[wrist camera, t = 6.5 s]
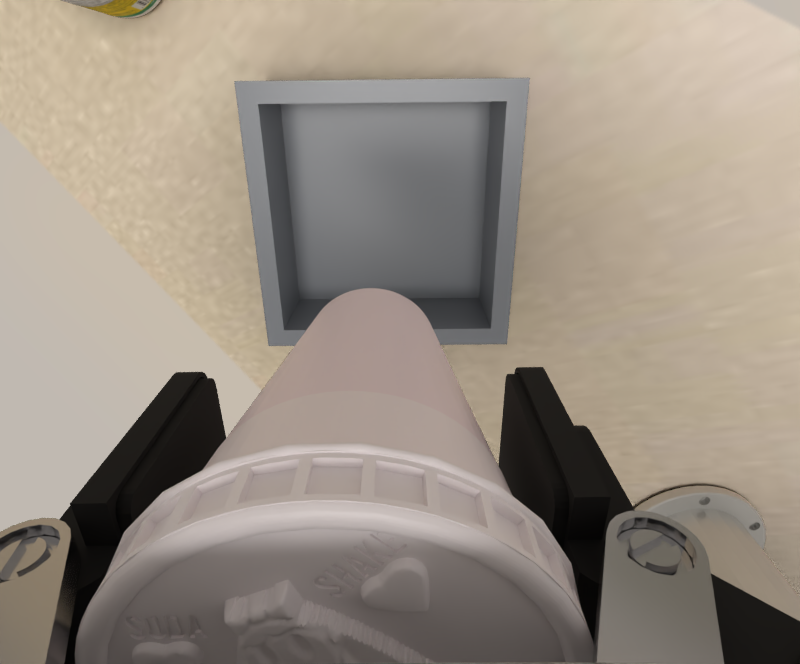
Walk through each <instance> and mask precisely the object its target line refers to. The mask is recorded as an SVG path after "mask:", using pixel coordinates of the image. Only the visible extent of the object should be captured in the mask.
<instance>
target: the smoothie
mask: <svg viewBox="0 0 800 664" xmlns="http://www.w3.org/2000/svg"><path fill="white" fill-rule="evenodd" d="M593 649H594V643H593V640H592V637H591V634H590V631H589V629H588V626H587V623H586V620H585V618H584V615H583V612H582V609H581V605H580V601H579V596H578V592H577V587H576V583H575V578H574V574H573V569H572V564H571V562H570V561H569V559H568V558H567V556H566V555H565V553H564V551H563V550H562V548H561V547H560V545H559V544H558V542H557V541H556V539H555V538H554V536H553V535H552V533H551V532H550V530H549V529H548V527H547V526H546V524H545V523H544V521H543V520H542V519H541V518H540V517H538V516H537V515H536V514H535V513H533V512H532V511H531V510H530V509H528V508H527V507H526V506H525V505H523V504H522V503H521V502H520V501H518V500H517V499H516V498H515V497H513V496H512V494H511V491H510V489H509V487H508V485H507V482H506V480H505V478H504V476H503V474H502V472H501V470H500V468H499V466H498V464H497V462H496V461H495V459H494V457H493V454H492V452H491V450H490V448H489V446H488V444H487V442H486V440H485V438H484V435H483V433H482V431H481V429H480V427H479V425H478V423H477V421H476V419H475V417H474V414H473V412H472V410H471V408H470V406H469V404H468V402H467V400H466V398H465V395H464V393H463V391H462V389H461V387H460V385H459V383H458V381H457V379H456V377H455V374H454V372H453V370H452V368H451V366H450V364H449V362H448V360H447V358H446V355H445V353H444V351H443V349H442V347H441V345H440V343H439V341H438V339H437V337H436V334H435V332H434V330H433V328H432V326H431V324H430V322H429V320H428V318H427V317H426V315H425V314H424V313H423V311H422V310H421V309H420V308H419V307H418V306H417V305H416V304H415V303H413V302H412V301H411V300H409V299H408V298H406V297H404V296H402V295H400V294H398V293H395V292H393V291H389V290H385V289H378V288H363V289H357V290H353V291H349V292H347V293H344V294H342V295H340V296H338V297H336V298H335V299H333V300H332V301H330V302H329V303H328V304H327V305H326V306H325V307H324V308H323V309H322V310H321V311H320V312H319V314H318V315H317V317H316V318H315V319H314V321H313V322H312V323H311V325H310V326H309V327H308V329H307V330H306V331H305V333H304V334H303V335H302V337H301V338H300V339H299V341H298V342H297V344H296V345H295V346H294V348H293V349H292V350H291V352H290V353H289V354H288V356H287V357H286V358H285V360H284V361H283V362H282V364H281V365H280V367H279V368H278V369H277V371H276V372H275V373H274V375H273V376H272V377H271V379H270V380H269V381H268V383H267V384H266V385H265V387H264V388H263V389H262V391H261V392H260V394H259V395H258V396H257V398H256V399H255V400H254V402H253V403H252V404H251V406H250V407H249V409H248V410H247V411H246V412H245V414H244V415H243V417H242V418H241V419H240V421H239V422H238V423H237V425H236V426H235V427H234V429H233V430H232V431H231V433H230V434H229V435H228V437H227V438H226V439H225V441H224V442H223V443H222V444H221V445H220V446H219V447H218V449H217V450H216V452H215V453H214V455H213V456H212V457H211V459H210V460H209V462H208V463H207V464H206V466H205V467H204V469H203V470H202V471H200V472H198V473H196V474H195V475H193V476H191V477H189V478H187V479H185V480H184V481H182V482H180V483H178V484H176V485H174V486H173V487H171V488H169V489H167V490H165V491H163V492H162V493H161V494H160V495H159V496H158V497H157V498H156V499H155V500H154V501H153V503H152V504H151V505H150V506H149V507H148V508H147V509H146V510H145V511H144V512H143V513H142V514H141V515H140V516H139V517H138V518H137V519H136V520H135V521H134V522H133V523H132V524H131V525H130V526H129V527H128V528H127V529H126V530H125V532H124V534H123V536H122V538H121V541H120V543H119V545H118V548H117V550H116V552H115V555H114V557H113V559H112V562H111V564H110V566H109V569H108V571H107V573H106V576H105V578H104V579H103V581H102V583H101V584H100V586H99V588H98V589H97V591H96V593H95V594H94V596H93V598H92V599H91V601H90V603H89V604H88V606H87V609H86V611H85V613H84V615H83V617H82V620H81V622H80V626H79V630H78V634H77V637H76V646H75V664H342V663H486V662H580V663H592V661H593Z"/></svg>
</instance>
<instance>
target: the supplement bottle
mask: <svg viewBox="0 0 800 664" xmlns="http://www.w3.org/2000/svg"><path fill="white" fill-rule="evenodd" d="M62 1H65V2H68V3H72V4H75V5H79V6H82V7H86V8H89V9H92V10H96V11H99V12H102V13H105V14H108V15H112V16H116V17H120V18H135V17H140V16H143V15H145V14H147V13H148V12H150V11H151V10H152V9H154V8H155V7H156V6H157V5H158V3H159V2H160V1H161V0H62Z"/></svg>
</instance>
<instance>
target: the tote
mask: <svg viewBox="0 0 800 664" xmlns="http://www.w3.org/2000/svg"><path fill="white" fill-rule="evenodd" d="M529 80H530V78H478V79H388V80H299V81H234V82H235V90H236V98H237V105H238V113H239V121H240V128H241V136H242V144H243V152H244V159H245V167H246V175H247V182H248V190H249V198H250V206H251V213H252V221H253V229H254V236H255V244H256V252H257V260H258V267H259V275H260V283H261V290H262V298H263V306H264V314H265V321H266V329H267V337H268V344H269V346H295V345H296V344H297V342H298V341H299V339H300V338H301V337H302V335H303V334H304V333H305V331H306V330H307V329H308V327H309V326H310V325H311V323H312V322H313V321H314V319H315V318H316V317H317V315H318V314H319V312H320V311H321V310H322V309H323V308H324V307H325V306H326V305H327V304H328V303H329V302H330V301H332V300H333V299H335V298H336V297H338V296H340V295H342V294H344V293H347V292H349V291H353V290H357V289H363V288H378V289H385V290H389V291H393V292H395V293H398V294H400V295H402V296H404V297H406V298H408V299H409V300H411V301H412V302H413V303H415V304H416V305H417V306H418V307H419V308H420V309H421V310H422V311H423V313H424V314H425V315H426V317H427V318H428V320H429V322H430V324H431V326H432V328H433V330H434V332H435V334H436V337H437V339H438V341H439V343H440V345H453V344H507V338H508V326H509V314H510V303H511V291H512V279H513V268H514V256H515V244H516V233H517V221H518V209H519V197H520V186H521V174H522V162H523V151H524V139H525V127H526V115H527V104H528V92H529Z"/></svg>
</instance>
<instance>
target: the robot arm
mask: <svg viewBox="0 0 800 664" xmlns="http://www.w3.org/2000/svg"><path fill="white" fill-rule="evenodd" d="M225 439H226V435H225V430H224V425H223V420H222V415H221V409H220V404H219V399H218V394H217V389H216V384H215V381H214V379H212V378H207V376H206V375H205V373H203V372H178V373H175V374H174V375H173V376H172V377H171V379H170V380H169V381H168V382H167V384H166V385H165V386H164V387H163V388H162V390H161V391H160V392H159V393H158V395H157V396H156V397H155V399H154V400H153V401H152V402H151V403H150V405H149V406H148V407H147V408H146V410H145V411H144V412H143V413H142V415H141V416H140V417H139V418H138V420H137V421H136V422H135V423H134V425H133V426H132V427H131V428H130V430H129V431H128V432H127V433H126V435H125V436H124V437H123V438H122V440H121V441H120V442H119V444H118V445H117V446H116V447H115V448H114V450H113V451H112V452H111V453H110V455H109V456H108V457H107V458H106V460H105V461H104V462H103V463H102V465H101V466H100V467H99V468H98V470H97V471H96V472H95V473H94V475H93V476H92V477H91V478H90V479H89V481H88V482H87V483H86V485H85V486H84V487H83V488H82V490H81V491H80V492H79V493H78V494H77V496H76V497H75V498H74V499H73V501H72V502H71V503H70V505H71V506H70V507H69V508H68V509H67V511H66V512H65V513H64V514H63V516H62V517H61V518H60V519H59V520H58V519H56V518H40V519H34V520H28V521H25V522H22V523H19V524H17V525H13V526H11V527H9V528H7V529H5V530H3V531H1V532H0V664H75V646H76V637H77V634H78V630H79V626H80V622H81V620H82V617H83V615H84V613H85V611H86V609H87V606H88V604H89V603H90V601H91V599H92V598H93V596H94V594H95V593H96V591H97V589H98V588H99V586H100V584H101V583H102V581H103V579H104V578H105V576H106V573H107V571H108V569H109V566H110V564H111V562H112V559H113V557H114V555H115V552H116V550H117V548H118V545H119V543H120V541H121V538H122V536H123V534H124V532H125V530H126V529H127V528H128V527H129V526H130V525H131V524H132V523H133V522H134V521H135V520H136V519H137V518H138V517H139V516H140V515H141V514H142V513H143V512H144V511H145V510H146V509H147V508H148V507H149V506H150V505H151V504H152V503H153V501H154V500H155V499H156V498H157V497H158V496H159V495H160V494H161V493H162V492H163V491H165V490H167V489H169V488H171V487H173V486H174V485H176V484H178V483H180V482H182V481H184V480H185V479H187V478H189V477H191V476H193V475H195V474H196V473H198V472H200V471H202V470H203V469H204V467H205V466H206V464H207V463H208V462H209V460H210V459H211V457H212V456H213V455H214V453H215V452H216V450H217V449H218V447H219V446H220V445H221V444H222V443H223V442H224V441H225ZM499 468H500V470H501V472H502V474H503V476H504V478H505V480H506V482H507V485H508V487H509V489H510V491H511V494H512V496H513V497H515V498H516V499H517V500H518V501H520V502H521V503H522V504H523V505H525V506H526V507H527V508H528V509H530V510H531V511H532V512H533V513H535V514H536V515H537V516H538V517H540V518H541V519H542V520H543V521H544V523H545V524H546V526H547V527H548V529H549V530H550V532H551V533H552V535H553V536H554V538H555V539H556V541H557V542H558V544H559V545H560V547H561V548H562V550H563V551H564V553H565V555H566V556H567V558H568V559H569V561H570V562H571V564H572V569H573V574H574V578H575V583H576V587H577V592H578V596H579V601H580V605H581V609H582V612H583V615H584V618H585V620H586V623H587V626H588V629H589V631H590V634H591V637H592V640H593V643H594V649H593V661H592V663H580V662H486V663H342V664H800V596H799V595H798V594H797V592H796V591H795V590H794V589H793V587H792V586H791V585H790V583H789V582H788V581H787V580H786V578H785V577H784V576H783V575H782V573H781V572H780V571H779V570H778V568H777V567H776V566H775V565H774V563H773V562H772V561H771V560H770V558H769V557H768V556H767V555H766V553H765V552H764V551H763V549H764V545H765V541H766V528H765V525H764V522H763V519H762V518H761V516H760V515H759V513H758V512H757V510H756V509H755V508H754V507H753V506H752V505H751V504H750V503H749V502H748V501H747V500H746V499H745V498H743V497H742V496H740V495H739V494H737V493H735V492H732V491H730V490H727V489H724V488H719V487H714V486H689V487H681V488H677V489H673V490H670V491H666V492H664V493H661V494H659V495H656V496H654V497H652V498H650V499H648V500H647V501H645V502H643V503H641V504H640V505H639V506H637V507H636V508H635V509H634V508H633V506H632V505H631V503H630V501H629V499H628V497H627V496H626V494H625V492H624V490H623V489H622V487H621V485H620V483H619V481H618V480H617V478H616V476H615V474H614V473H613V471H612V469H611V467H610V466H609V464H608V462H607V460H606V458H605V457H604V455H603V453H602V451H601V450H600V448H599V446H598V444H597V442H596V441H595V439H594V437H593V435H592V434H591V432H590V430H589V429H588V428H587V427H586V426H574V425H573V423H572V421H571V419H570V418H569V416H568V414H567V412H566V410H565V408H564V406H563V404H562V402H561V400H560V398H559V397H558V395H557V393H556V391H555V389H554V387H553V385H552V383H551V381H550V379H549V377H548V375H547V374H546V372H545V370H544V368H543V367H522V368H516V370H515V374H507V376H506V382H505V394H504V407H503V419H502V431H501V443H500V455H499Z"/></svg>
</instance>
